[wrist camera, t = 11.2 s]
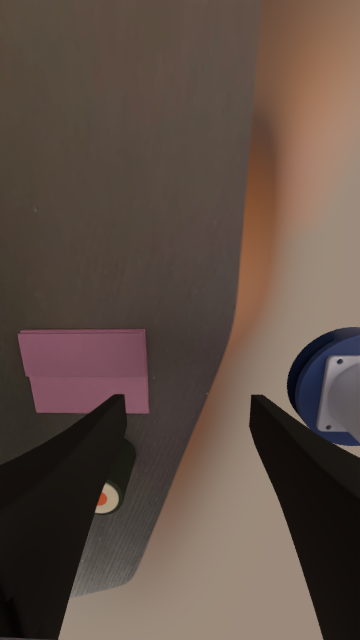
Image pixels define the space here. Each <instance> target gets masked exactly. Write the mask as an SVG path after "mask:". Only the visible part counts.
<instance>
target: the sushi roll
mask: <svg viewBox="0 0 360 640" xmlns="http://www.w3.org/2000/svg"><path fill="white" fill-rule="evenodd" d="M134 461H135V450H134V447H133V446H132V445H131V443H129V442H128V441H127V440H125V439H123V442H122V445H121V447H120V450H119V452H118V454H117V457H116V459H115V462H114V464H113V466H112V469H111V471H110V474H109V476H108V478H107V481H106V483H105V485H104V488H103V491H102V493H101V496H100V498H99V501H98V504H97V508H96V511H95V514H98V515H107V514H111V513H113V512H115V511H117V510H118V509H119V508H120V506H121V505H122V503H123V500H124V496H125V492H126V489H127V485H128V482H129V478H130V475H131V471H132V468H133V464H134Z"/></svg>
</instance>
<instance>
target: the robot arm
mask: <svg viewBox="0 0 360 640" xmlns="http://www.w3.org/2000/svg"><path fill="white" fill-rule="evenodd" d="M339 359H340V361H339V362H337V361H338V360H339ZM326 426H327V427H326ZM249 427H250V430H251V434H252V437H253V440H254V444H255V446H256V449H257V451H258V453H259V456H260V458H261V460H262V463H263V465H264V467H265V469H266V471H267V474H268V476H269V478H270V481H271V483H272V485H273V487H274V490H275V492H276V494H277V496H278V499H279V502H280V505H281V507H282V510H283V513H284V516H285V519H286V522H287V525H288V527H289V531H290V533H291V537H292V540H293V542H294V545H295V549H296V552H297V555H298V558H299V561H300V564H301V567H302V570H303V573H304V577H305V580H306V583H307V586H308V589H309V593H310V596H311V599H312V602H313V606H314V609H315V612H316V615H317V619H318V622H319V626H320V629H321V633H322V636H323V639H324V640H360V458H359V457H357V456H355V455H353V454H351V453H349V452H347V451H346V450H344V449H342V448H340V447H338V446H337V445H335V444H333V443H332V442H330V441H328V440H326V439H325V438H323V437H321V436H320V435H318V434H317V433H315V432H314V431H312V430H311V429H309V428H308V427H306V426H304V425H303V424H301V423H300V422H299V421H297V420H296V419H295V418H293V417H292V416H290V415H289V414H288V413H286V412H285V411H284V410H282V409H281V408H280V407H278V406H277V405H276V404H274V403H273V402H272V401H271V400H269V399H267V398H266V397H265V396H263V395H251V408H250V423H249ZM316 427H317V428H318V429H319V430H320V431H332V432H349V433H350V434H351V435H352V436H353V437H354V438H355V439H356V440H357V441H358V442H359V443H360V355H331V356H329V357H328V358H327V359H326V365H325V371H324V378H323V384H322V390H321V397H320V403H319V410H318V416H317V422H316ZM126 428H127V417H126V405H125V394H114V395H112V396H111V397H109V398H108V399H107V400H105V401H104V402H103V403H102V404H100V405H99V406H98V407H97V408H95V409H94V410H93V411H91V412H90V413H89V414H87V415H86V416H85V417H83V418H82V419H80V420H79V421H78V422H76V423H75V424H73V425H72V426H71V427H69V428H68V429H66V430H65V431H63V432H62V433H60V434H58V435H57V436H55V437H53V438H52V439H50V440H48V441H47V442H45V443H43V444H41V445H40V446H38V447H36V448H34V449H32V450H30V451H28V452H26V453H25V454H23V455H21V456H19V457H17V458H15V459H13V460H11V461H8V462H6V463H4V464H2V465H0V640H58V637H59V634H60V630H61V626H62V623H63V619H64V615H65V612H66V608H67V604H68V600H69V597H70V593H71V590H72V586H73V583H74V580H75V576H76V573H77V569H78V566H79V562H80V559H81V555H82V552H83V549H84V546H85V542H86V539H87V536H88V533H89V529H90V526H91V523H92V520H93V517H94V514H95V511H96V508H97V504H98V501H99V498H100V496H101V493H102V491H103V488H104V485H105V483H106V481H107V478H108V476H109V474H110V471H111V469H112V466H113V464H114V462H115V459H116V457H117V454H118V452H119V450H120V447H121V445H122V442H123V438H124V435H125V431H126Z"/></svg>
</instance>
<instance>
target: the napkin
mask: <svg viewBox="0 0 360 640" xmlns="http://www.w3.org/2000/svg"><path fill="white" fill-rule="evenodd" d="M17 335H18V340H19V345H20V350H21V355H22V360H23V365H24V370H25V375H26V376H29V377H30V382H31V387H32V392H33V398H34V403H35V408H36V412H37V413H90V412H91V411H93V410H94V409H95V408H97V407H98V406H99V405H100V404H102V403H103V402H104V401H105V400H107V399H108V398H109V397H111V396H112V395H114V394H125V405H126V413H143V414H149V411H150V406H149V388H148V369H147V351H146V332H145V329H24V330H21V333H19V334H17Z"/></svg>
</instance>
